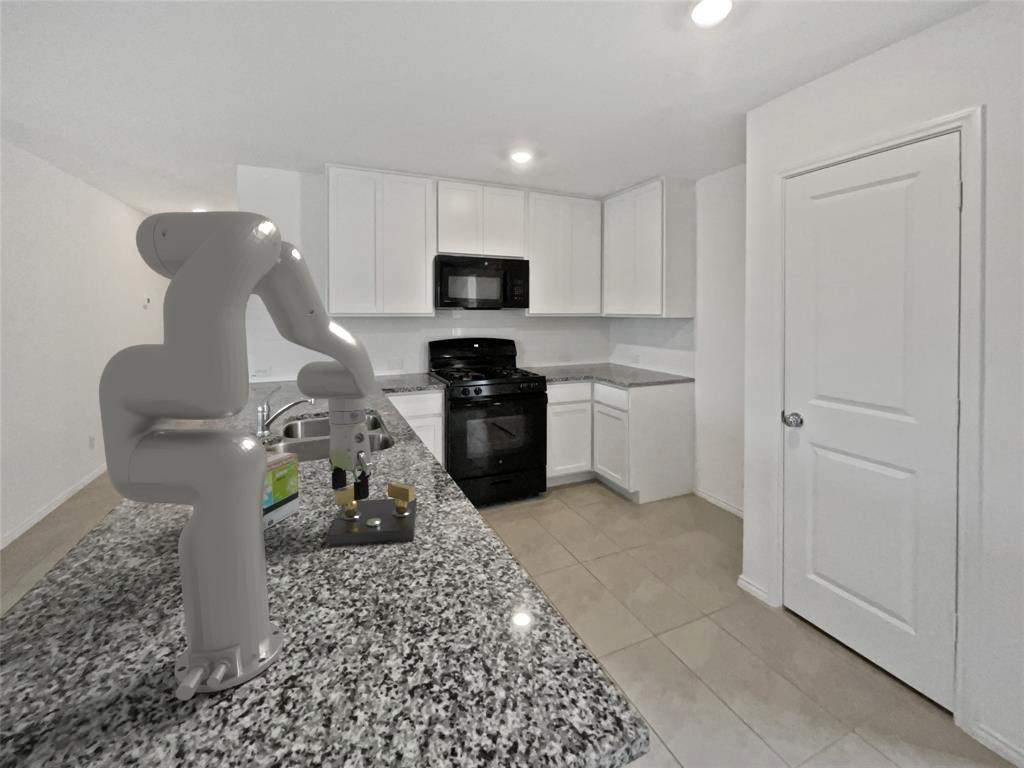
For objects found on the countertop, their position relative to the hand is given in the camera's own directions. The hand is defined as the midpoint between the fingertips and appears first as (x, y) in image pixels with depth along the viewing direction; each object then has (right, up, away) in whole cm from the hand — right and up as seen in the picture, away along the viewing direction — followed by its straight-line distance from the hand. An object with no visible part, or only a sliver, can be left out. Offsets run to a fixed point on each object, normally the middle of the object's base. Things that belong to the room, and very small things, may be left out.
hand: (350, 493), depth 102 cm
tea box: (-22, -8, +4) cm, 23 cm away
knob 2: (+11, -5, +3) cm, 12 cm away
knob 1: (0, -5, +1) cm, 5 cm away
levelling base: (+5, -8, +2) cm, 10 cm away
